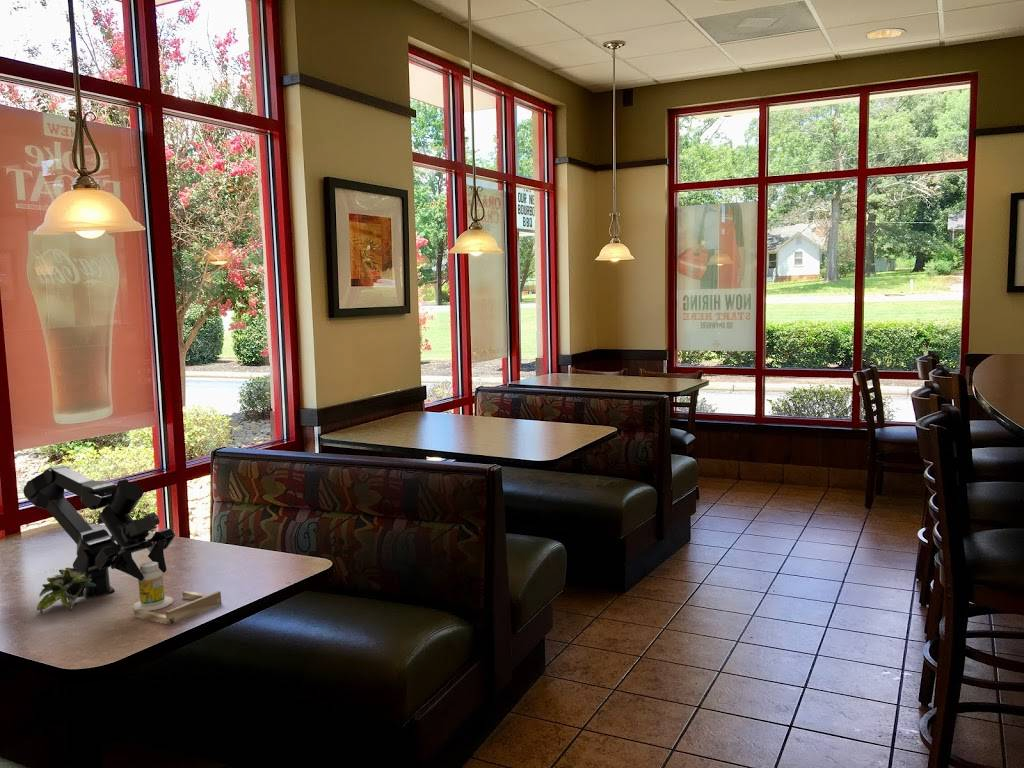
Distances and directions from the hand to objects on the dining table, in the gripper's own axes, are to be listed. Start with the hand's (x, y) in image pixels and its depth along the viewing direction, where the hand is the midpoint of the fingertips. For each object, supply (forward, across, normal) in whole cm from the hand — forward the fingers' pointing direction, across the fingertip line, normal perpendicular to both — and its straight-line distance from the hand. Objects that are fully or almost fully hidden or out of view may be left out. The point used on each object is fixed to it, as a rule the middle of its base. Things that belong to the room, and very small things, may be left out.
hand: (154, 575), depth 197 cm
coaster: (+4, 0, +6) cm, 8 cm away
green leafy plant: (-9, -10, +20) cm, 24 cm away
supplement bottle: (+4, 0, +6) cm, 7 cm away
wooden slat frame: (+11, 0, 0) cm, 11 cm away
